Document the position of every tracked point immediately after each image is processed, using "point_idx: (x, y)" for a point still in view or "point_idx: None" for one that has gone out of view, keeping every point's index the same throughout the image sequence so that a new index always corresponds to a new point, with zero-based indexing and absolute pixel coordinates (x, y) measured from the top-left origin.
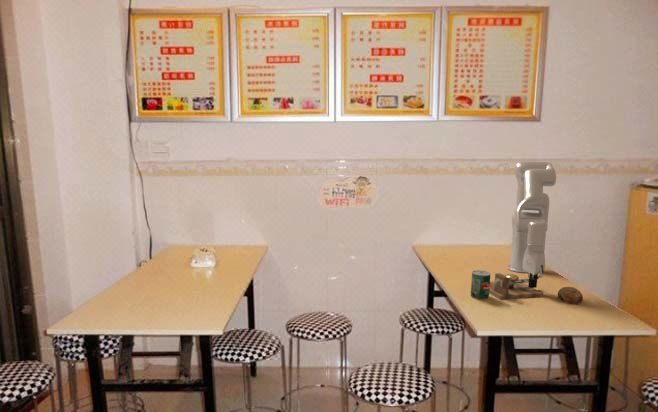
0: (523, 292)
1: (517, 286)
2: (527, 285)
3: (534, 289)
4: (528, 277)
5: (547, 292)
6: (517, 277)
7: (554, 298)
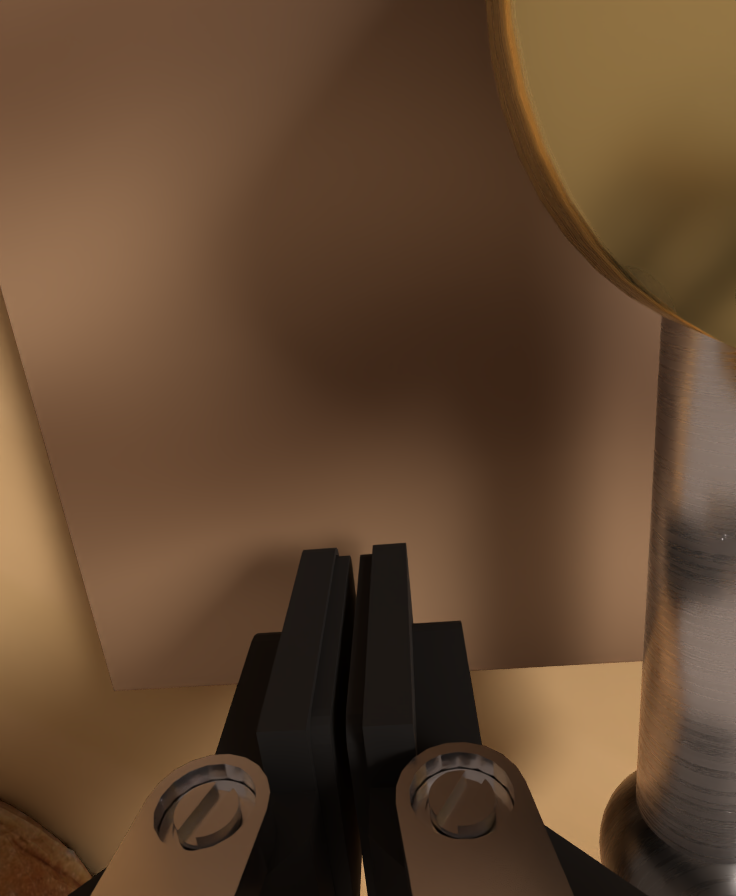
0: (142, 214)
1: None
2: None
3: None
4: (490, 761)
5: None
6: (582, 149)
7: (26, 758)
